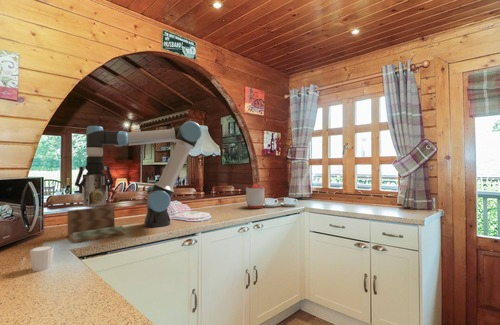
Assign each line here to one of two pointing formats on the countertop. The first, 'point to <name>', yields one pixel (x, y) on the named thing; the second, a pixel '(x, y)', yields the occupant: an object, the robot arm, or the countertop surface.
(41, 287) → the countertop surface
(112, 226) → the wall rack
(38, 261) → the white cylinder
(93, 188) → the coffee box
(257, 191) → the citrus juicer
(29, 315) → the countertop surface
